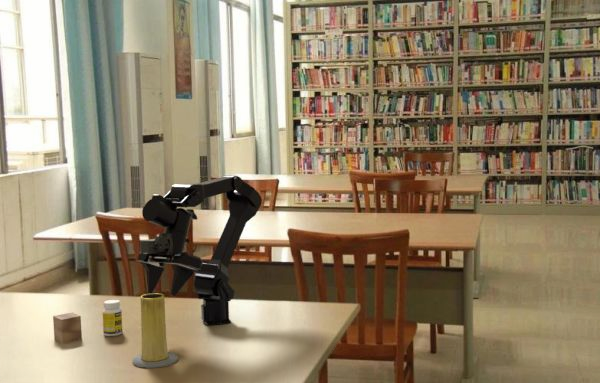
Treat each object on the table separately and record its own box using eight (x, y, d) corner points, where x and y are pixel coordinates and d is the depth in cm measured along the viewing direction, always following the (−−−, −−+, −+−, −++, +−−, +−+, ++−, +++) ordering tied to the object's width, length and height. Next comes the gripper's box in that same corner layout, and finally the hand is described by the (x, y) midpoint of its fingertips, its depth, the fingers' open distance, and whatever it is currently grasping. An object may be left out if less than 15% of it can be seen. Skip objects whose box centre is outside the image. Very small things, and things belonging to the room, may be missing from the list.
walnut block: (73, 335, 190) (72, 312, 189) (81, 339, 186) (80, 315, 186) (54, 339, 187) (53, 315, 186) (62, 343, 183) (61, 319, 182)
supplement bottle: (117, 336, 187) (116, 304, 187) (100, 336, 188) (98, 303, 188) (125, 331, 192) (124, 299, 191) (108, 330, 193) (107, 299, 192)
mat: (173, 351, 175) (173, 349, 175) (181, 364, 165) (181, 361, 165) (129, 357, 171) (129, 354, 171) (135, 370, 162) (135, 367, 162)
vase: (170, 353, 171) (168, 292, 170) (166, 361, 165) (163, 298, 164) (144, 353, 171) (141, 292, 170) (138, 362, 165) (135, 299, 164)
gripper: (128, 223, 186) (112, 284, 182) (174, 223, 173) (158, 289, 169) (162, 235, 194) (148, 294, 190) (209, 236, 181) (195, 299, 177)
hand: (161, 294), depth 181 cm, fingers open, 9 cm apart
